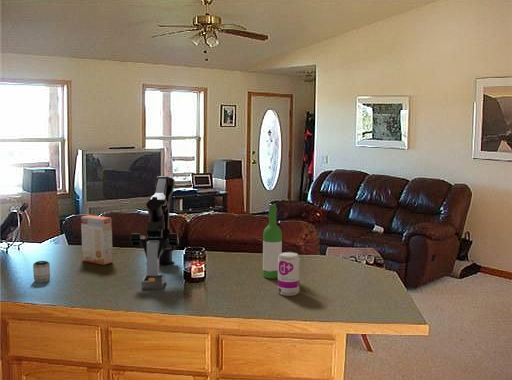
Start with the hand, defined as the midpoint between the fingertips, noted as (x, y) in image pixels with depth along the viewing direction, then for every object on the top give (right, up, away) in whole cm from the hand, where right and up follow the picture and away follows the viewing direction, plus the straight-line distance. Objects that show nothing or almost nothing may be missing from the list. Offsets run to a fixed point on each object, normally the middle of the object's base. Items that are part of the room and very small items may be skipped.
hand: (152, 258), depth 223 cm
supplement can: (+53, -13, -6) cm, 54 cm away
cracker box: (-32, -6, +38) cm, 50 cm away
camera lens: (-46, -10, +8) cm, 48 cm away
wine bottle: (+47, -10, +16) cm, 51 cm away
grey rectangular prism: (0, -6, +2) cm, 7 cm away
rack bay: (0, -11, +3) cm, 11 cm away
